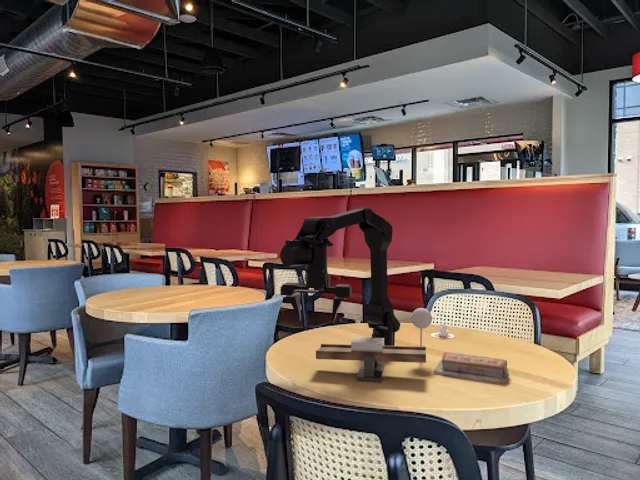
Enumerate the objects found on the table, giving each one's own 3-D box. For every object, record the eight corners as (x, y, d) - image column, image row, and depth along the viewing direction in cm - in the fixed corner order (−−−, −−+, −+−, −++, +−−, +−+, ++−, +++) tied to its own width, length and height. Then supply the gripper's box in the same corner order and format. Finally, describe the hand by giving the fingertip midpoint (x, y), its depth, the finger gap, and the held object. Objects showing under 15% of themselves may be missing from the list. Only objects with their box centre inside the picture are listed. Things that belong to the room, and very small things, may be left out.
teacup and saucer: (440, 332, 179) (440, 321, 179) (460, 336, 173) (460, 325, 173) (426, 336, 173) (426, 324, 173) (445, 341, 167) (446, 329, 167)
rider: (384, 349, 132) (384, 338, 132) (382, 354, 127) (382, 342, 127) (354, 348, 134) (354, 337, 134) (351, 353, 129) (351, 341, 129)
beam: (425, 355, 132) (425, 346, 132) (426, 364, 124) (425, 354, 124) (321, 352, 137) (321, 343, 137) (315, 360, 130) (315, 351, 129)
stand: (384, 366, 137) (384, 345, 136) (380, 382, 124) (380, 358, 124) (362, 365, 138) (362, 343, 138) (356, 380, 125) (356, 357, 125)
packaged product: (509, 356, 133) (505, 366, 124) (508, 374, 133) (505, 386, 124) (441, 347, 140) (433, 357, 131) (440, 364, 141) (432, 375, 132)
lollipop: (432, 358, 146) (433, 307, 145) (430, 363, 140) (431, 310, 139) (411, 355, 148) (412, 305, 147) (408, 361, 142) (409, 309, 141)
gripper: (355, 261, 140) (354, 316, 141) (290, 260, 143) (290, 313, 144) (349, 266, 129) (349, 325, 130) (279, 264, 133) (279, 322, 134)
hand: (316, 321), depth 135 cm, fingers open, 9 cm apart
